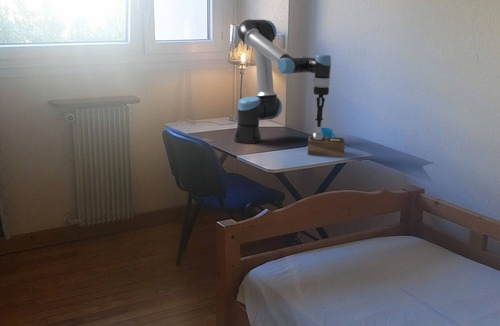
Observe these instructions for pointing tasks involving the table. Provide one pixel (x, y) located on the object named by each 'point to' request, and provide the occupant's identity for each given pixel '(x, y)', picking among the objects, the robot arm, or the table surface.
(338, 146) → the socket block
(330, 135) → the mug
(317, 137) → the steel peg
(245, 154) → the table surface
